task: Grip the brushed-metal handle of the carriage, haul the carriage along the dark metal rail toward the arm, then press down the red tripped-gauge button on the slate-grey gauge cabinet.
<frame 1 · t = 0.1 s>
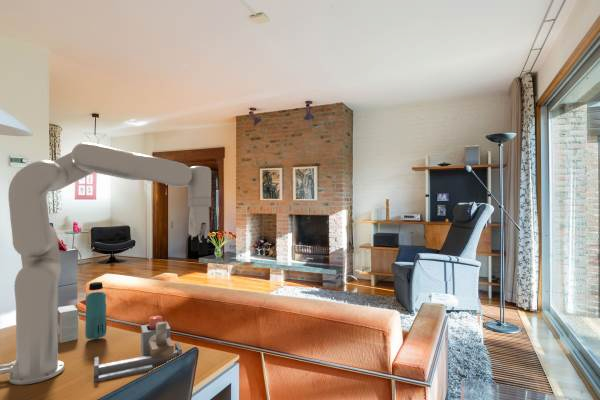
hand: (199, 252, 122), 31 cm above the table, fingers open, 9 cm apart
rail track: (139, 366, 105), on the table
carriage: (161, 338, 108), point 7 cm above the table, slide at 6.0 cm
beverage bottle: (95, 340, 125), on the table
gauge cabinet: (155, 351, 115), on the table
small box: (66, 338, 126), on the table
gauge button: (155, 322, 115), point 9 cm above the table, slide at 0.0 cm
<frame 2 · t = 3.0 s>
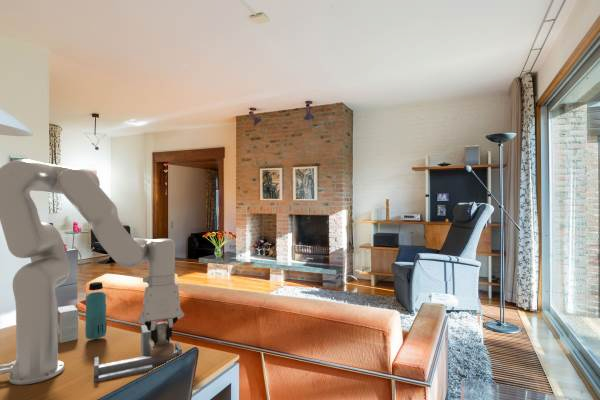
hand: (161, 340, 108), 7 cm above the table, fingers closed on carriage, 3 cm apart
carriage: (161, 338, 108), point 7 cm above the table, slide at 6.0 cm, touching gripper
everything else where it was.
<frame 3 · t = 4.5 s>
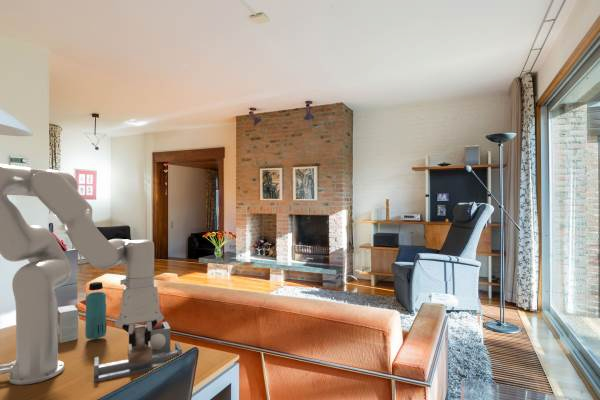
hand: (139, 344, 105), 7 cm above the table, fingers closed on carriage, 3 cm apart
carriage: (139, 342, 105), point 7 cm above the table, slide at 0.1 cm, touching gripper
everything else where it was.
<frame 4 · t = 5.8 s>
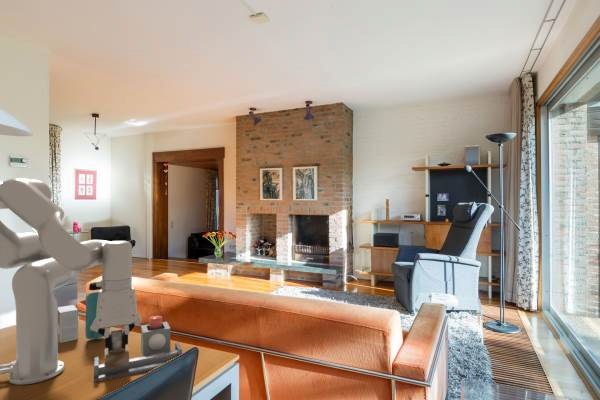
hand: (116, 348, 102), 7 cm above the table, fingers closed on carriage, 3 cm apart
carriage: (116, 346, 102), point 7 cm above the table, slide at -6.0 cm, touching gripper
everything else where it was.
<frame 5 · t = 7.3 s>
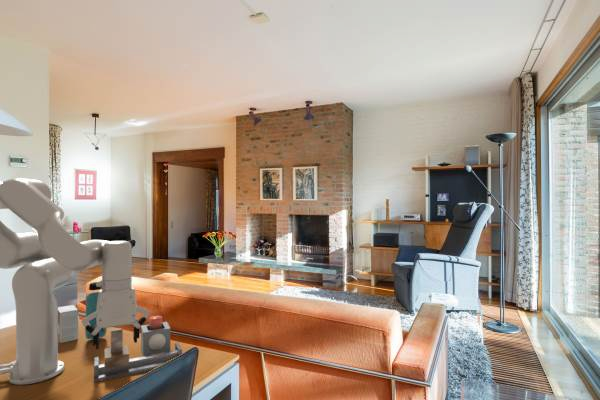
hand: (116, 344, 102), 8 cm above the table, fingers open, 9 cm apart
carriage: (116, 346, 102), point 7 cm above the table, slide at -6.0 cm
everything else where it was.
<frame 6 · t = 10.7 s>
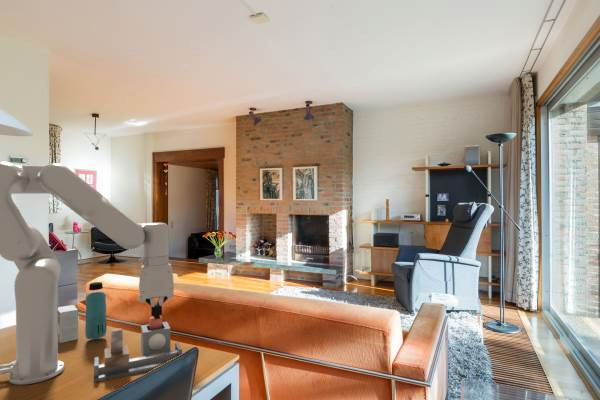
hand: (156, 317, 116), 11 cm above the table, fingers closed
gauge button: (155, 322, 115), point 9 cm above the table, slide at 0.0 cm, touching gripper
everything else where it was.
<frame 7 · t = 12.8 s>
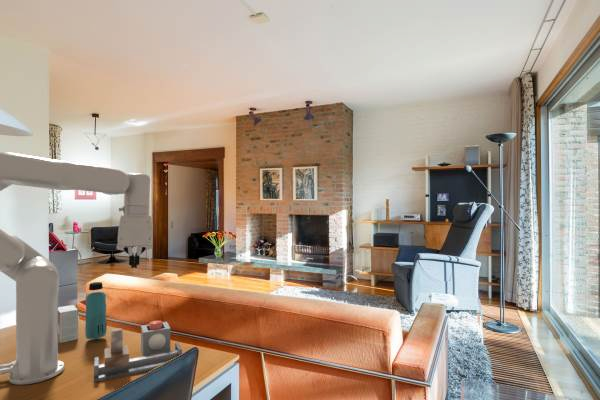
hand: (133, 267, 116), 27 cm above the table, fingers closed
gauge button: (155, 327, 115), point 8 cm above the table, slide at 1.6 cm
everything else where it was.
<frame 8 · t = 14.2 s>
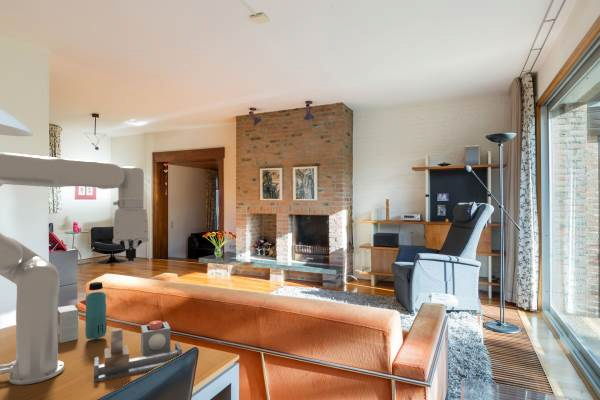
hand: (130, 260, 117), 29 cm above the table, fingers closed
nothing on the table moved.
at the end: carriage slide at -6.0 cm; gauge button slide at 1.6 cm; the gripper is holding nothing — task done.
